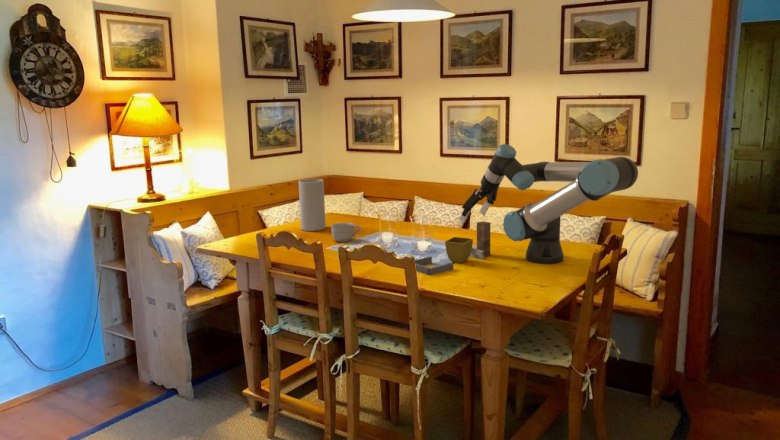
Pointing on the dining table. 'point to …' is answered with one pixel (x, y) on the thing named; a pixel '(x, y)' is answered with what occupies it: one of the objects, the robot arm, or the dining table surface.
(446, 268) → the tray
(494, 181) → the robot arm
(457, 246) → the flower pot
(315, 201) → the cylinder vase
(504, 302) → the dining table surface
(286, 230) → the dining table surface
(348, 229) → the teacup
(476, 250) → the upright post on base
